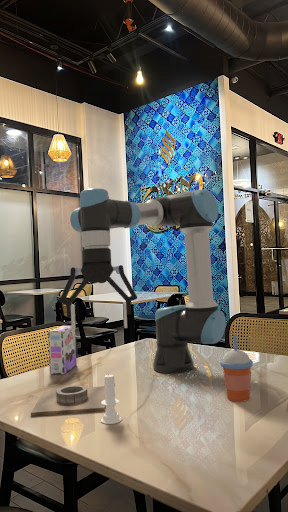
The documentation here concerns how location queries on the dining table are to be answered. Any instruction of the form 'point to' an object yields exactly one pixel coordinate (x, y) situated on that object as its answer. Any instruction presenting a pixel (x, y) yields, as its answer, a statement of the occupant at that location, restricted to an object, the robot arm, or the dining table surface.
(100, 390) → the flange board
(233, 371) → the cup with straw
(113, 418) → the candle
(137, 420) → the dining table surface
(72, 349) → the candy box
